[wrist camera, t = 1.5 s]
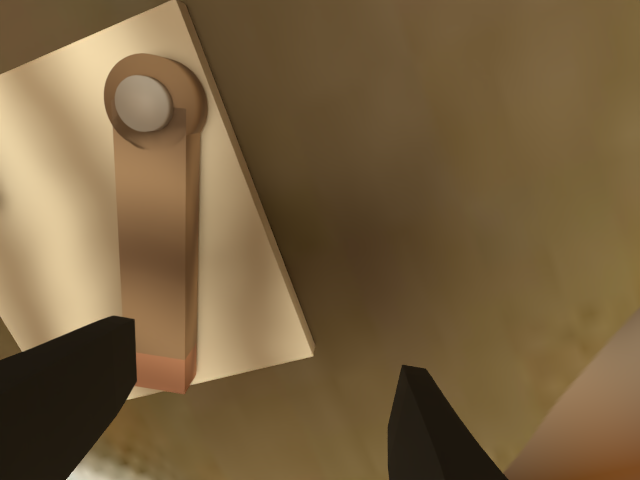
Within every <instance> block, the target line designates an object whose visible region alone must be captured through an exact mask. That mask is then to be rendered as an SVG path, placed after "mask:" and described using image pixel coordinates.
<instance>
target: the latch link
mask: <svg viewBox="0 0 640 480" xmlns="http://www.w3.org/2000/svg"><path fill="white" fill-rule="evenodd" d="M104 105H105V109H106V113H107V116H108V118H109V120H110V122H111V124H112V126H113V144H114V163H115V183H116V202H117V221H118V240H119V259H120V279H121V298H122V317H126V318H132V319H135V339H136V366H137V382H136V384H135V386H137V387H143V388H149V389H155V390H162V391H168V392H174V393H180V394H185V393H186V391H187V389H188V388H189V386H190V384H191V383H192V381H193V379H194V378H195V376H196V357H197V297H198V236H199V176H200V132H201V131H202V129H203V127H204V125H205V122H206V118H207V110H208V107H207V98H206V94H205V91H204V89H203V86H202V84H201V83H200V81H199V79H198V78H197V77H196V75H195V74H194V73H193V72H192V71H191V70H190V69H189V68H188V67H186V66H185V65H183V64H182V63H180V62H178V61H175V60H172V59H169V58H165V57H161V56H157V55H152V54H147V53H139V54H133V55H129V56H127V57H125V58H123V59H122V60H120V61H119V62H118V63H117V64H116V65H115V66H114V67H113V68H112V69H111V71H110V73H109V74H108V77H107V79H106V82H105V87H104Z"/></svg>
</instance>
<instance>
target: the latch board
mask: <svg viewBox="0 0 640 480" xmlns="http://www.w3.org/2000/svg"><path fill="white" fill-rule="evenodd" d="M139 53H147V54H152V55H157V56H161V57H165V58H169V59H172V60H175V61H178V62H180V63H182V64H183V65H185V66H186V67H188V68H189V69H190V70H191V71H192V72H193V73H194V74H195V75H196V77H197V78H198V79H199V81H200V83H201V84H202V86H203V89H204V91H205V94H206V98H207V107H208V110H207V118H206V122H205V125H204V127H203V129H202V131H201V132H200V176H199V236H198V297H197V357H196V376H195V378H194V379H193V381H192V383H191V384H190V385H193V384H197V383H201V382H205V381H210V380H214V379H218V378H223V377H227V376H231V375H235V374H240V373H244V372H248V371H252V370H257V369H261V368H265V367H270V366H274V365H278V364H282V363H287V362H291V361H295V360H299V359H304V358H308V357H312V356H313V355H314V349H315V343H314V341H313V338H312V335H311V333H310V330H309V327H308V325H307V322H306V320H305V317H304V314H303V312H302V309H301V306H300V304H299V301H298V299H297V296H296V293H295V291H294V288H293V285H292V283H291V280H290V278H289V275H288V272H287V270H286V267H285V264H284V262H283V259H282V256H281V254H280V251H279V249H278V246H277V243H276V241H275V238H274V235H273V233H272V230H271V228H270V225H269V222H268V220H267V217H266V214H265V212H264V209H263V206H262V204H261V201H260V199H259V196H258V193H257V191H256V188H255V185H254V183H253V180H252V178H251V175H250V172H249V170H248V167H247V164H246V162H245V159H244V156H243V154H242V151H241V149H240V146H239V143H238V141H237V138H236V135H235V133H234V130H233V128H232V125H231V122H230V120H229V117H228V114H227V112H226V109H225V107H224V104H223V101H222V99H221V96H220V93H219V91H218V88H217V85H216V83H215V80H214V78H213V75H212V72H211V70H210V67H209V64H208V62H207V59H206V57H205V54H204V51H203V49H202V46H201V43H200V41H199V38H198V35H197V33H196V30H195V28H194V25H193V22H192V20H191V17H190V14H189V12H188V9H187V7H186V4H184V3H182V2H180V1H179V0H171V1H169V2H166V3H164V4H162V5H159V6H157V7H155V8H153V9H150V10H148V11H146V12H143V13H141V14H139V15H136V16H134V17H132V18H130V19H127V20H125V21H123V22H120V23H118V24H116V25H113V26H111V27H109V28H107V29H104V30H102V31H100V32H97V33H95V34H93V35H90V36H88V37H86V38H84V39H81V40H79V41H77V42H74V43H72V44H70V45H67V46H65V47H63V48H61V49H58V50H56V51H54V52H51V53H49V54H47V55H44V56H42V57H40V58H38V59H35V60H33V61H31V62H28V63H26V64H24V65H21V66H19V67H17V68H15V69H12V70H10V71H8V72H5V73H3V74H1V75H0V317H1V318H2V320H3V322H4V323H5V325H6V326H7V328H8V330H9V331H10V333H11V334H12V336H13V338H14V339H15V341H16V342H17V344H18V346H19V347H20V349H21V351H22V352H23V351H26V350H28V349H31V348H33V347H36V346H38V345H40V344H43V343H45V342H48V341H50V340H52V339H55V338H57V337H60V336H62V335H64V334H67V333H69V332H71V331H74V330H76V329H79V328H81V327H83V326H86V325H88V324H91V323H93V322H96V321H98V320H101V319H104V318H107V317H110V316H113V315H114V316H120V317H122V298H121V279H120V259H119V240H118V221H117V202H116V183H115V163H114V144H113V126H112V124H111V122H110V120H109V118H108V116H107V113H106V109H105V105H104V87H105V82H106V79H107V77H108V74H109V73H110V71H111V69H112V68H113V67H114V66H115V65H116V64H117V63H118V62H119V61H120V60H122V59H123V58H125V57H127V56H129V55H133V54H139ZM158 392H163V391H162V390H155V389H149V388H143V387H137V386H134V387H133V389H132V391H131V393H130V394H129V396H128V398H127V400H128V399H133V398H137V397H141V396H146V395H150V394H154V393H158Z"/></svg>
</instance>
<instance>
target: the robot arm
mask: <svg viewBox="0 0 640 480" xmlns="http://www.w3.org/2000/svg"><path fill="white" fill-rule="evenodd" d="M136 382H137V366H136V339H135V319H132V318H126V317H120V316H114V315H113V316H110V317H107V318H104V319H101V320H98V321H96V322H93V323H91V324H88V325H86V326H83V327H81V328H79V329H76V330H74V331H71V332H69V333H67V334H64V335H62V336H60V337H57V338H55V339H52V340H50V341H48V342H45V343H43V344H40V345H38V346H36V347H33V348H31V349H28V350H26V351H23V352H21V353H18V354H15V355H13V356H10V357H8V358H5V359H2V360H0V480H66V479H67V478H68V477H69V475H70V474H71V473H72V472H73V470H74V469H75V468H76V467H77V465H78V464H79V463H80V462H81V460H82V459H83V458H84V456H85V455H86V454H87V453H88V451H89V450H90V449H91V448H92V446H93V445H94V444H95V443H96V441H97V440H98V439H99V438H100V436H101V435H102V434H103V432H104V431H105V430H106V429H107V427H108V426H109V425H110V423H111V422H112V421H113V419H114V418H115V417H116V416H117V414H118V412H119V411H120V409H121V408H122V406H123V404H124V403H125V401H126V400H127V398H128V396H129V394H130V393H131V391H132V389H133V387H134V386H135V384H136ZM388 472H389V480H508V479H507V478H506V477H505V475H504V474H503V473H502V472H501V471H500V470H499V468H498V467H497V466H496V465H495V463H494V462H493V461H492V460H491V459H490V457H489V456H488V455H487V454H486V452H485V451H484V450H483V449H482V448H481V446H480V445H479V444H478V442H477V441H476V440H475V439H474V437H473V436H472V434H471V433H470V432H469V430H468V429H467V428H466V426H465V425H464V424H463V422H462V421H461V419H460V418H459V417H458V415H457V414H456V412H455V411H454V410H453V408H452V407H451V405H450V404H449V402H448V401H447V399H446V398H445V396H444V395H443V393H442V392H441V390H440V389H439V387H438V386H437V384H436V383H435V381H434V380H433V378H432V377H431V375H430V374H429V373H428V371H427V370H426V369H424V368H418V367H413V366H407V365H402V368H401V372H400V376H399V381H398V385H397V389H396V394H395V398H394V402H393V406H392V411H391V415H390V419H389V424H388Z"/></svg>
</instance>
